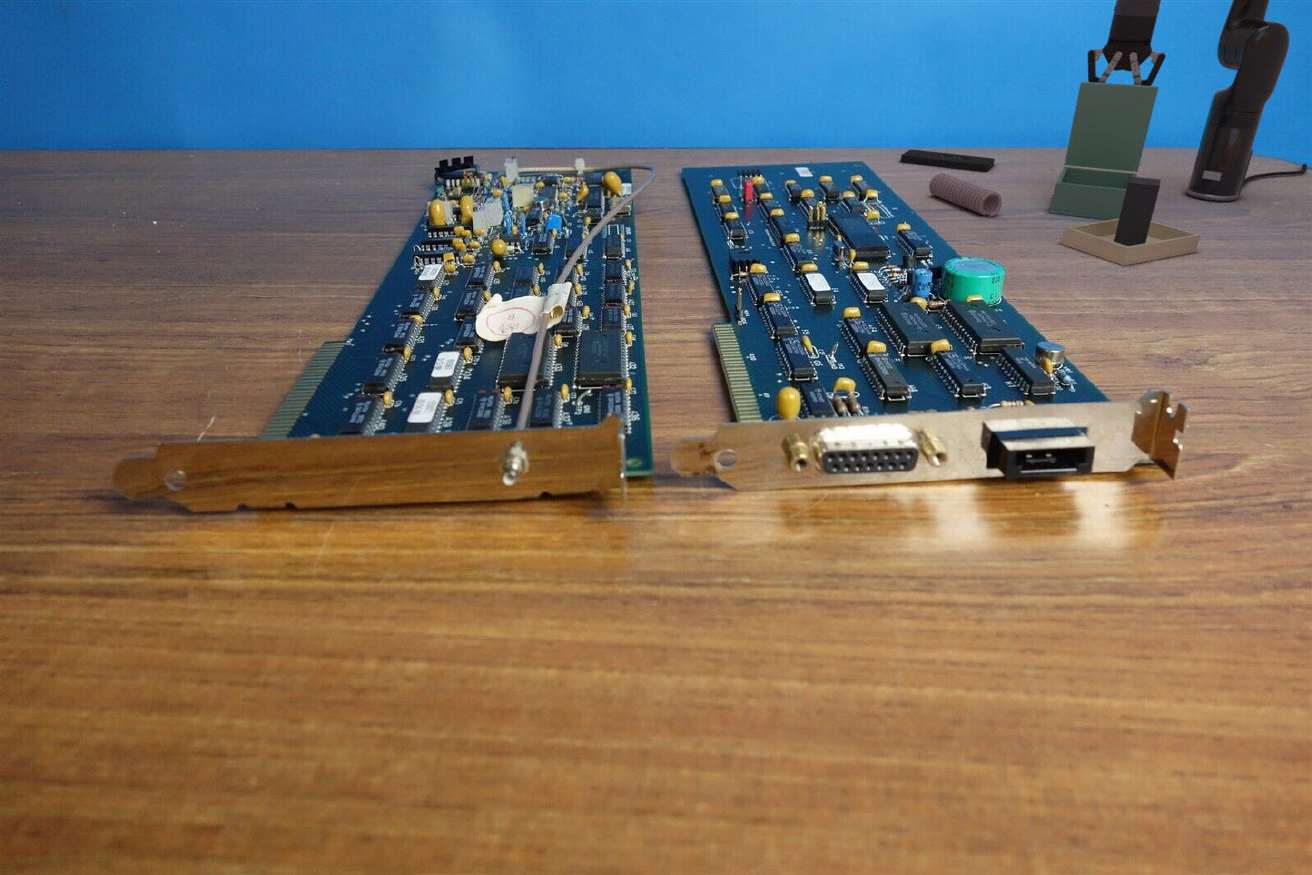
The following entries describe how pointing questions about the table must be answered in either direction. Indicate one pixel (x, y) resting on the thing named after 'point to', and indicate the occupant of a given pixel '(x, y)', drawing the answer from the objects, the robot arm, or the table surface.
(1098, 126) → the lid
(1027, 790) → the table surface
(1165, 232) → the tray
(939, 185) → the coil
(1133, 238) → the block
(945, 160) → the smart home device
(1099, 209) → the chest
